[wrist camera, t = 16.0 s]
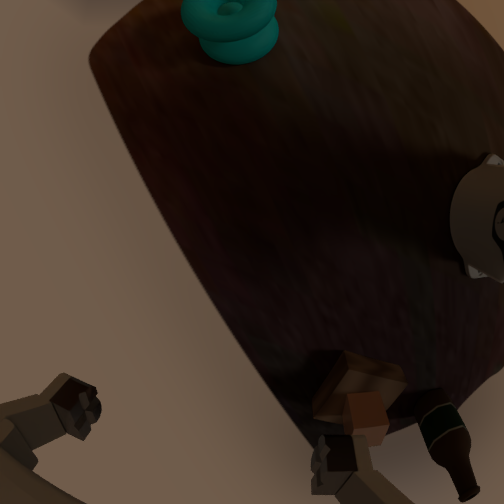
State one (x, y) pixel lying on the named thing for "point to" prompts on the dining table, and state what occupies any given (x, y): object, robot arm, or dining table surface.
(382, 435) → the terracotta block
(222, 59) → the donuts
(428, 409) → the beer bottle
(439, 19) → the dining table surface
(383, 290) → the dining table surface
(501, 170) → the robot arm
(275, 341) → the dining table surface
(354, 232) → the dining table surface
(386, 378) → the walnut block
